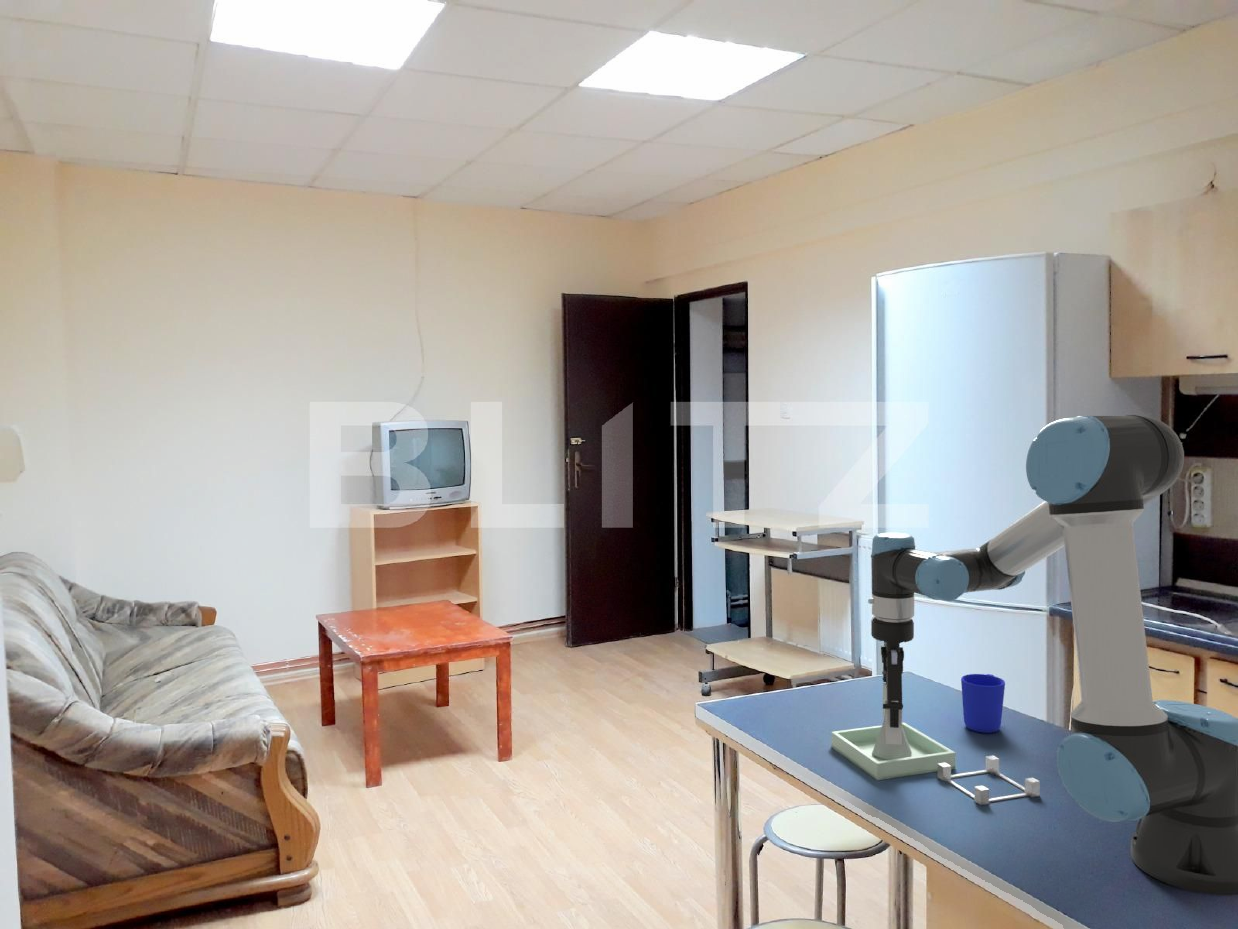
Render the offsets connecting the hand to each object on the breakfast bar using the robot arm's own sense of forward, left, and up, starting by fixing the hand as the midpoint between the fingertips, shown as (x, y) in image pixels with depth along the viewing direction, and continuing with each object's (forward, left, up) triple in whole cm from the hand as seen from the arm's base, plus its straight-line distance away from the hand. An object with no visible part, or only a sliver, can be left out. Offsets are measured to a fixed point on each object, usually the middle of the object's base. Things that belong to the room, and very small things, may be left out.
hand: (891, 730), depth 170 cm
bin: (0, 0, -5) cm, 5 cm away
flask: (0, 0, -5) cm, 5 cm away
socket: (-16, -8, -5) cm, 19 cm away
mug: (+9, -27, -6) cm, 29 cm away
